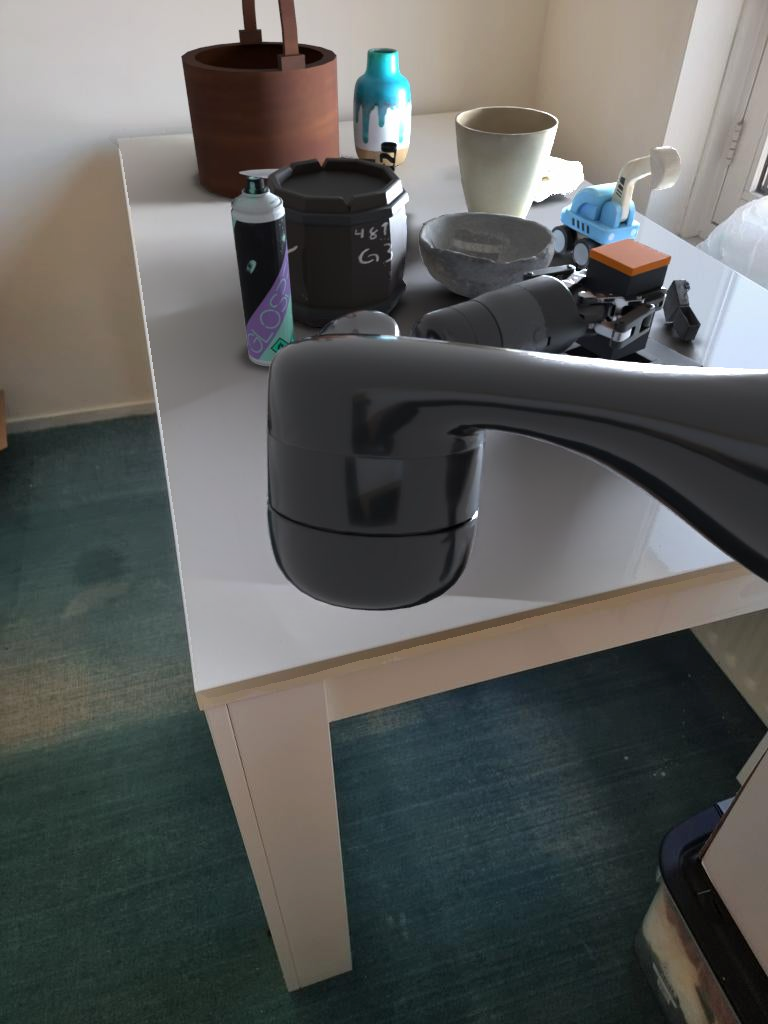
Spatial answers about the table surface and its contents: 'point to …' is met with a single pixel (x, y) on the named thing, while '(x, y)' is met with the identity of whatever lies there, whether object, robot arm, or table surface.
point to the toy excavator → (612, 206)
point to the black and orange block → (623, 285)
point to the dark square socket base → (641, 355)
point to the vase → (382, 107)
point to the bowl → (483, 250)
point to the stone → (559, 178)
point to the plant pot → (503, 157)
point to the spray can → (263, 270)
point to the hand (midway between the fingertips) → (638, 285)
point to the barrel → (342, 236)
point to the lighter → (680, 310)
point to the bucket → (260, 103)
